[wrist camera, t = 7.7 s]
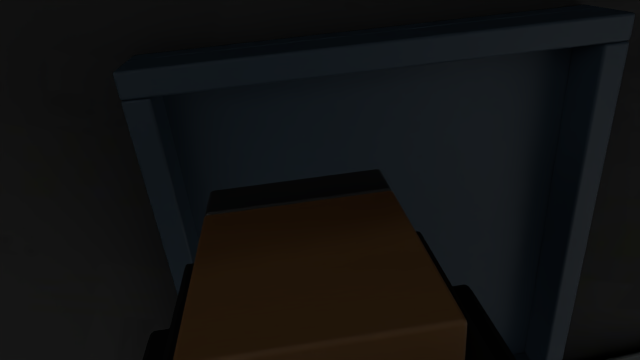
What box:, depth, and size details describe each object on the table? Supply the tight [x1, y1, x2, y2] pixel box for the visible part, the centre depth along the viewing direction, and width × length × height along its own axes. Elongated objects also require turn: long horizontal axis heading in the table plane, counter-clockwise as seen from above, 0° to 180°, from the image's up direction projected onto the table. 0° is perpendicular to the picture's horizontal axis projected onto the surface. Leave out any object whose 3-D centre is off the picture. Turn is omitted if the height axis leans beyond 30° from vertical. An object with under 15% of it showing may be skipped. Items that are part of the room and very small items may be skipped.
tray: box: [113, 5, 635, 360], centre depth 17 cm, size 16×15×2 cm
